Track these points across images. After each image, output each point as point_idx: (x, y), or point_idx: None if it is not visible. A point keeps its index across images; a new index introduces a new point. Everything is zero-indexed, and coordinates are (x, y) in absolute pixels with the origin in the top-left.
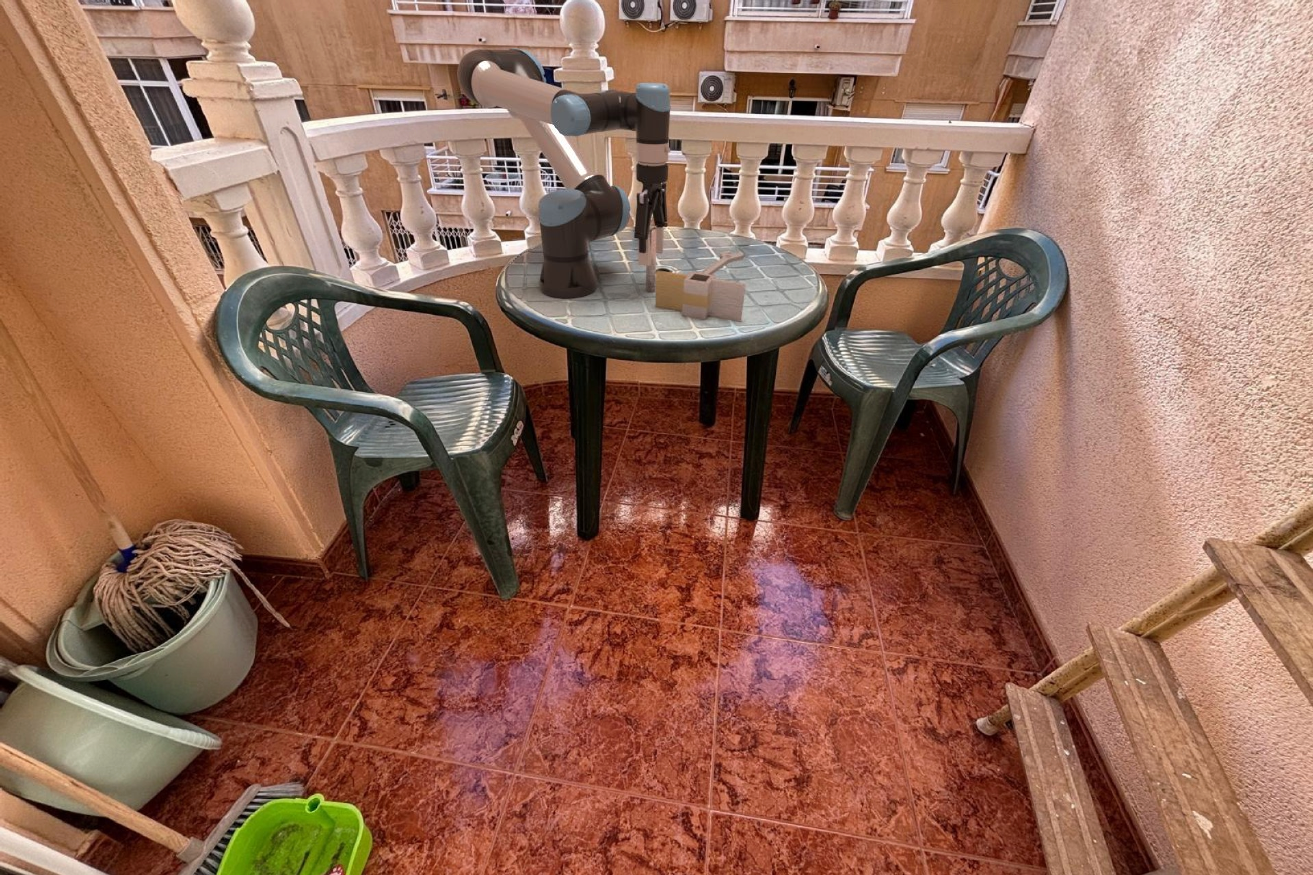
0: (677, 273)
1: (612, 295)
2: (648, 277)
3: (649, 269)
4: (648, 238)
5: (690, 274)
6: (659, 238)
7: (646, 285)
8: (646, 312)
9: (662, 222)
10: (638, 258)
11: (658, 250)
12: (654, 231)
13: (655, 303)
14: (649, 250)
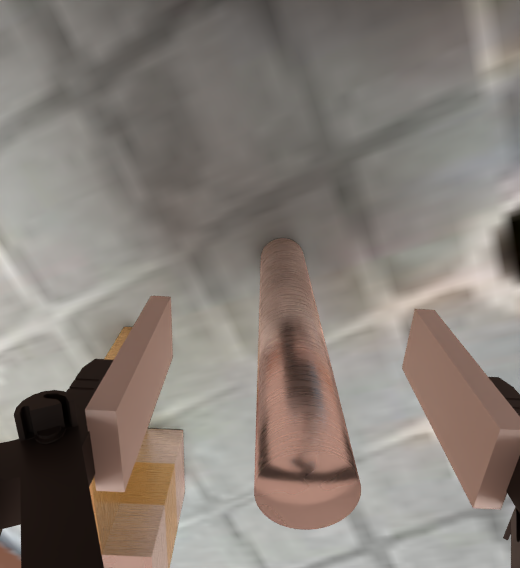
0: (96, 515)
1: (152, 101)
2: (260, 282)
3: (259, 306)
4: (258, 420)
5: (114, 559)
6: (443, 416)
7: (268, 253)
8: (58, 311)
9: (514, 553)
10: (141, 315)
11: (412, 356)
12: (277, 512)
13: (120, 333)
14: (150, 419)
